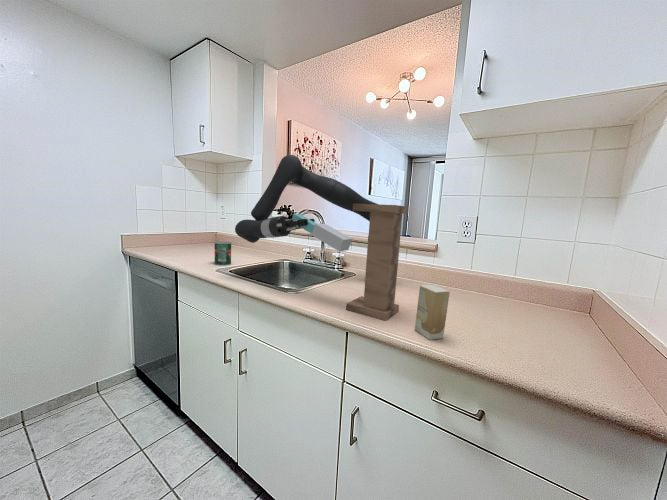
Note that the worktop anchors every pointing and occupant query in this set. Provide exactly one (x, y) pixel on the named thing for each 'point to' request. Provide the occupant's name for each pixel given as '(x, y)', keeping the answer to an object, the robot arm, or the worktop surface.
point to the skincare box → (431, 311)
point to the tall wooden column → (380, 261)
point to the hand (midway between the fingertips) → (310, 221)
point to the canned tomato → (222, 253)
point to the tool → (326, 234)
